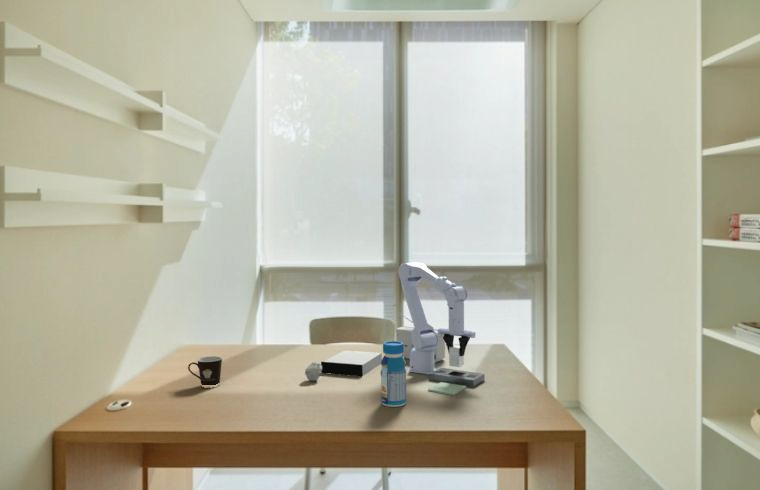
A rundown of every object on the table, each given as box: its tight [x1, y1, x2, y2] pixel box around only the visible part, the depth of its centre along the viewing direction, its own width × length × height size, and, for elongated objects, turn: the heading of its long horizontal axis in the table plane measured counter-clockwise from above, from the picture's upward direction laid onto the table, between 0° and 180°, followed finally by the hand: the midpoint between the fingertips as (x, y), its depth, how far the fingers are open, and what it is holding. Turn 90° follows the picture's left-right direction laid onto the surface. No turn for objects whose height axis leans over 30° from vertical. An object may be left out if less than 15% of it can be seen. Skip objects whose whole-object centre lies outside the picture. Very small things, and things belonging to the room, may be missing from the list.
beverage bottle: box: [380, 340, 407, 408], centre depth 183 cm, size 8×8×20 cm
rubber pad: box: [427, 382, 467, 396], centre depth 198 cm, size 10×10×1 cm
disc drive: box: [320, 349, 383, 378], centre depth 229 cm, size 18×22×5 cm
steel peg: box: [448, 344, 465, 368], centre depth 209 cm, size 4×4×7 cm
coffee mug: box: [187, 355, 223, 385], centre depth 206 cm, size 12×9×10 cm
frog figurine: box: [304, 361, 322, 382], centre depth 211 cm, size 6×7×7 cm
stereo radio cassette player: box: [395, 312, 446, 364], centre depth 242 cm, size 21×8×20 cm, turn 58°
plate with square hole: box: [428, 367, 485, 388], centre depth 209 cm, size 18×10×3 cm, turn 57°
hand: (456, 355), depth 209 cm, fingers closed on steel peg, 4 cm apart
